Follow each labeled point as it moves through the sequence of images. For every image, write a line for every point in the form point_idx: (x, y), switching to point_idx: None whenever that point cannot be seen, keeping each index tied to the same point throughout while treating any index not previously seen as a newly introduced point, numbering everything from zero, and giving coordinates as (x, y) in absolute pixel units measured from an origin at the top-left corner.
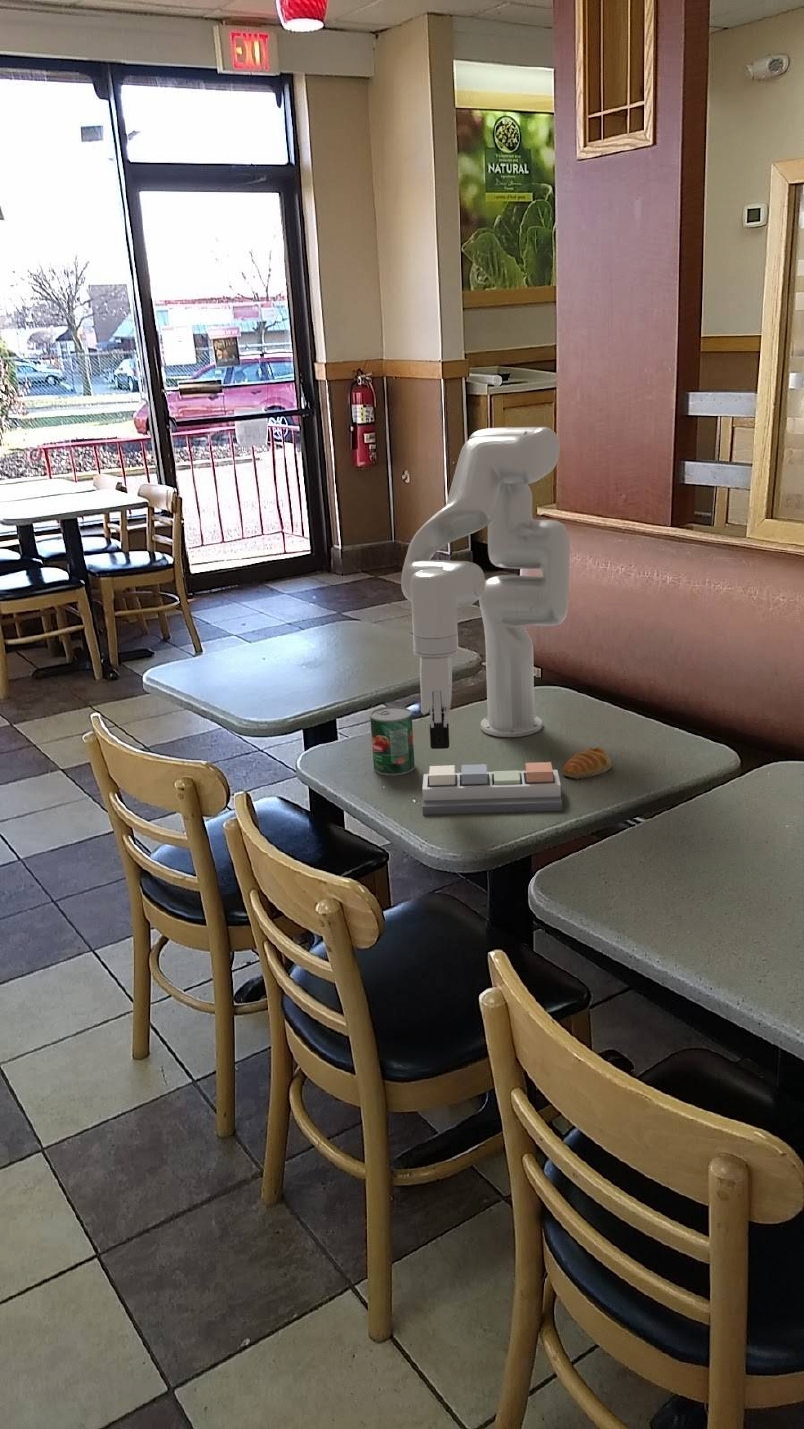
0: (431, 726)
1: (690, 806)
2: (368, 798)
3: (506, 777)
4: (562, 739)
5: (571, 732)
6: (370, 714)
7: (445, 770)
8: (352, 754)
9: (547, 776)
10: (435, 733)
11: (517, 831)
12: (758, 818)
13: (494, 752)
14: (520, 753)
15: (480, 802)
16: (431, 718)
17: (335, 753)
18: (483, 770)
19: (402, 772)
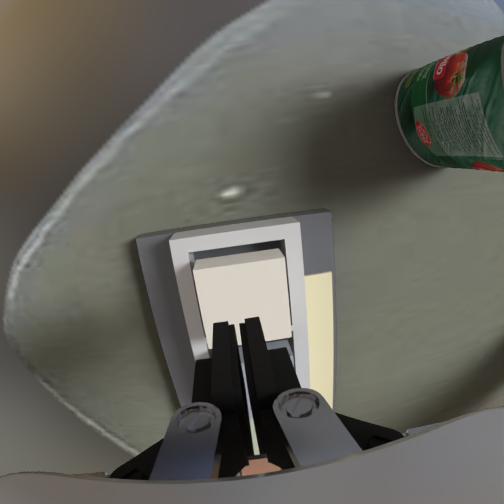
0: (172, 418)
1: None
2: (241, 65)
3: (252, 437)
4: (486, 404)
5: (499, 405)
6: None
7: (243, 317)
8: (479, 35)
9: None
10: (194, 399)
11: (109, 417)
12: None
13: (480, 326)
14: (464, 369)
15: (182, 372)
16: (156, 467)
17: (475, 6)
18: (249, 412)
19: (405, 138)
